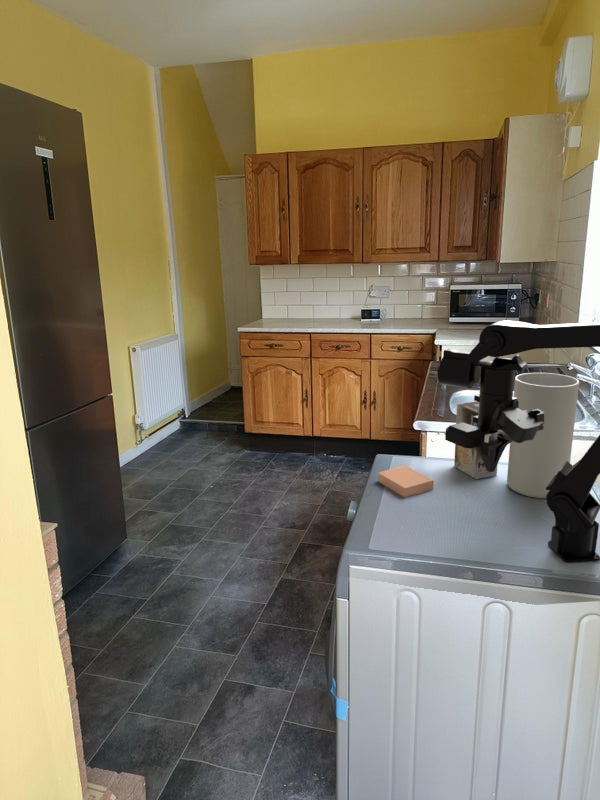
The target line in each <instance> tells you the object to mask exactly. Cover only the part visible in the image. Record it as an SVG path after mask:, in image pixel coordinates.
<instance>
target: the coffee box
mask: <svg viewBox="0 0 600 800" xmlns="http://www.w3.org/2000/svg"><path fill="white" fill-rule="evenodd" d="M478 410H479V402H478V401H469V402H464V403H459V404H458V403H457V404H456V416H455V417H456V419H455V420H456V421H455V424H459V423H463V422H464V423H466V424H469V425H472V426H475V427H476V426H478V423H475V422H473V416H478ZM498 464H499V463H498ZM498 464H497V466H496V468H495V470H494V472H489V471H487V470H486V467H485V465H484V463H483V460H482V458H481V456H480V454H479V451H478V449H477V447H474V448H471V449H469V448H464V447H461V446H459V445H456V444H454V467H455V466H456V467H457V469H459V470H460V471H462V472H464V473H465V474H467V475H468V476H470V477H472V478H473V479H475V480H479V479H484V478H488V477H490V478H491V477H494V476H497V474H498ZM456 467H455V468H456Z"/></svg>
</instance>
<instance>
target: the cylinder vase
mask: <svg viewBox="0 0 600 800" xmlns="http://www.w3.org/2000/svg"><path fill="white" fill-rule="evenodd" d="M579 385H580V380H578V378H575V377H573V376H570V375H566V374H560V373H551V372H526V373H520V374H518V375H516V376H514V387H513V397H515V398H518V401H519V405H518V406H519V409H520V410H522V411H525V410H527V411H528V412H527V413H529V412H530V411H532V410H535V409H539V410H541V411H542V412H544V424H543V427H544V428H543V430H540V431H537V433H536V435H535V437H534V439H533V440H527V441H524V442H522V443H516V442H514V441H513V442H511V443H509V449H508V462H507V463H508V464H507V475H506V476H507V477H506V482H507V485H508V487H509V488H510V489H511V490H512V491H514V492H516V493H517V494H520V495H522V496H526V497H531V498H536V499H546V495H547V493H548V492H549V490H546V487H547V486H548V484H549V483H550V482H551V480H552V479H553V477H554V476H555V475H557V473H558V471H559V470H560V469H561V467H562V466H563V464H564V463H565V462H566V461H568V462H569V463H570V464H571V459H572V458H571V457H572V449H573V441H574V432H575V431H574V429H575V425H576V424H575V422H576V421H575V420H576V412H577V405H578V395H579V388H580V386H579Z"/></svg>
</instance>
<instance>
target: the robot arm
mask: <svg viewBox="0 0 600 800" xmlns="http://www.w3.org/2000/svg"><path fill="white" fill-rule="evenodd" d="M599 347H600V321H593V322H576V323H575V322H573V323H557V324H556V323H554V324H533V323H529V322H525V321H516V320H506V319H505V320H504V319H503V320H499V321H496V322H494V323H491V324H490V325H487V326H485V327H484V328H483V330H482V331H481V332H480V335H479V339H478V343H477V344H476V345H475V346H474V348H473V349H472V350H471V351H463V350H457V349H454V348H447V349H445V350H443V354H442V355H443V356H442V358H441V360H440V363H439V367H438V368H437V380H438V382H439V385H443V386H450V387H457V388H465V389H471V388H472V387H473V386H474V385H475V384H478V383H480V384H479V394H474V399H473V402H477V401H478V402H479V410H478V416H473V422H475V423H478V426H476V427H475V426H472V425H469V424H466V423H464V422H463V423H459V424H456V423H454V424H451V425H449V426H447V427H446V429H445V435H444V440H445V441H447V442H450V443H452V444H454V445H455V444H456V445H459V446H461V447H464V448H469V449H471V448H474V447H477V449H478V451H479V454H480V456H481V458H482V460H483V463H484V465H485V467H486V470H487V471H489V472H494V470H495V468H496V466H497V467H498V465H497V464H499V462H500V459H501V457H502V454H503V453H504V451H505V449H506V448H507V446H508V445H510V443H511V442H513V441H514V442H516V443H522V442H524V441H527V440H533V439H534V437H535V435H536V433H537V431H540V430H543V428H544V427H543V424H544V412H542V411H541V410H539V409H535V410H532V411H530V412H529V413H527V412H528V411H527V410H525V411H522V410H520V409H519V406H518V405H519V401H518V398H515V397H514V387H515V373H516V372H515V371H517V372H522V371H523V370H525V369H526V368H528V367H529V366H528V365H529V364H528V363H527V362H526V361H525V360H523V359H522V357H521V356H520V353H524V352H526V351H527V352H528V351H532V350H541V349H570V348H571V349H572V348H573V349H574V348H599ZM510 355H511V356H512V355H514V356H513V357H512V358H507V357H505V356H510ZM487 357H491V358H493V360H484V359H485V358H487ZM479 381H480V382H479ZM599 475H600V434H599V435H598V436H597V437H596V439H595V440H594V442H593V443H592V444H591V446H589V448H588V449H587V451H586V452H585V453H584V455H583V456H582V457H581V459H579V460H578V461H577V462H575V463H574V464H573V465H572V464H571V462H570V463H569V462H568V461H566V462H565V463H564V464H563V466H562V467H561V469H560V470H559V471H558V473H557V475H555V476H554V477H553V479H552V480H551V482H550V483H549V484H548V486H547V487H546V490H549V492H548V493H547V495H546V498H545V502H546V506H547V507H548V508H549V510H550V511H551V512H552V513H553V516H554V519H555V522H554V525H552V526H551V527H552V528H551V536H550V540H549V541H548V542H547V545H548V546H549V547H550V548H551V549H552V550H553V551H554V552H555V553H556V555H558V556H559V558H560V559H561V560H563V562H565V563H575V562H592V561H600V555H599V554H598V553H597V552H596V551H597V543H598V536H599V528H600V523H599V522H597V521H596V517H597V516H598V513H599V512H600V503H599V502H598V500H596V498H595V497H594V496H593V495H592V494H591V491H592V490H593V489H592V488H593V487H594V485H595V483H596V480H597V479H598V477H599Z"/></svg>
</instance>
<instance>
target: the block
mask: <svg viewBox="0 0 600 800" xmlns="http://www.w3.org/2000/svg"><path fill="white" fill-rule="evenodd" d="M377 482H379V483H380V484H382V485H383V486H385V487H386V488H388V489H390V490H392V491H394V492H395V493H396V494H398V495H400V496H401V497H403V498H408V497H411V496H415V495H418V494H421V493H426V492H429V490H430V491H433V490H434V479H432V478H430V477H428V476H427V475H424V474H422V473H420V472H419V471H417V470H415V469H412V468H411V467H409V466H407V465H402V466H398V467H395V468H391V469H386V470H383V471H379V472H377Z"/></svg>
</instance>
